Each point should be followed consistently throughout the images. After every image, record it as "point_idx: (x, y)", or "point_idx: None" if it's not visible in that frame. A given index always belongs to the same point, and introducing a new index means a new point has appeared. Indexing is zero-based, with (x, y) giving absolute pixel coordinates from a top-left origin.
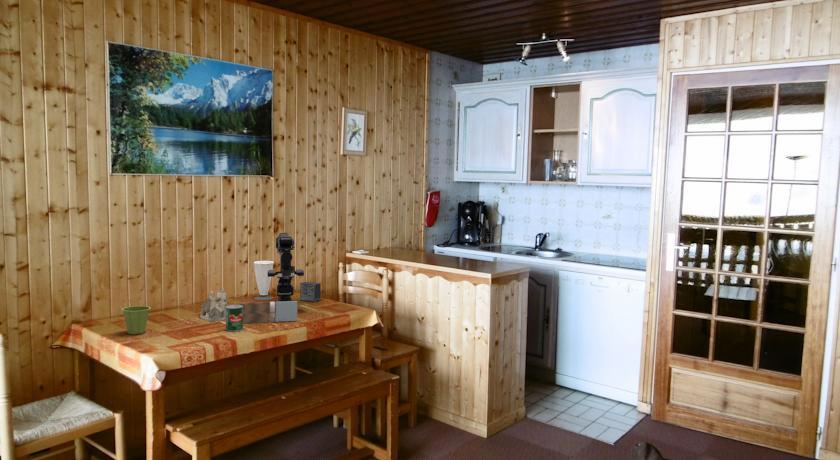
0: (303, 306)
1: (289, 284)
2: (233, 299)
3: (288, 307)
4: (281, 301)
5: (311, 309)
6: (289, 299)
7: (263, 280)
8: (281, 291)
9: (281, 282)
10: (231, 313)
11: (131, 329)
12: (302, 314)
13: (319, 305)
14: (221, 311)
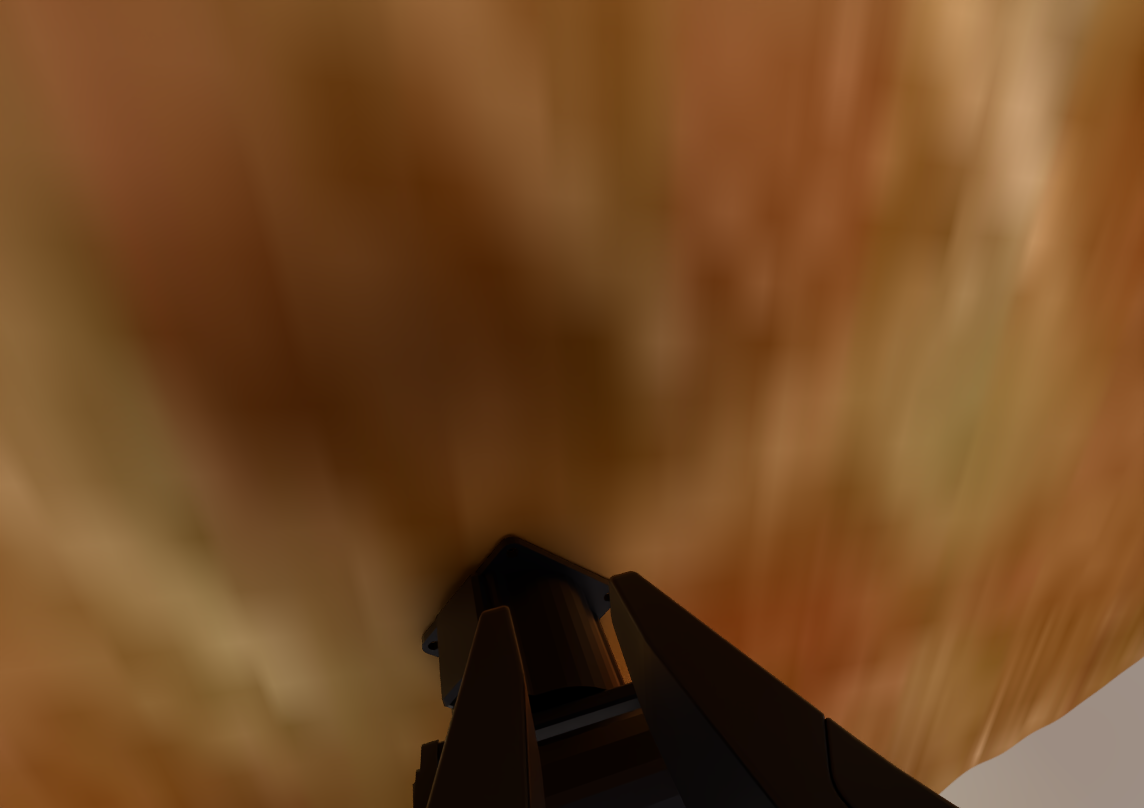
0: (256, 632)
1: (435, 778)
2: (926, 743)
3: None
4: (574, 618)
5: (33, 471)
6: (462, 666)
7: None
8: (629, 729)
9: (881, 756)
10: None
11: None
12: (62, 23)
13: (2, 716)
14: None
